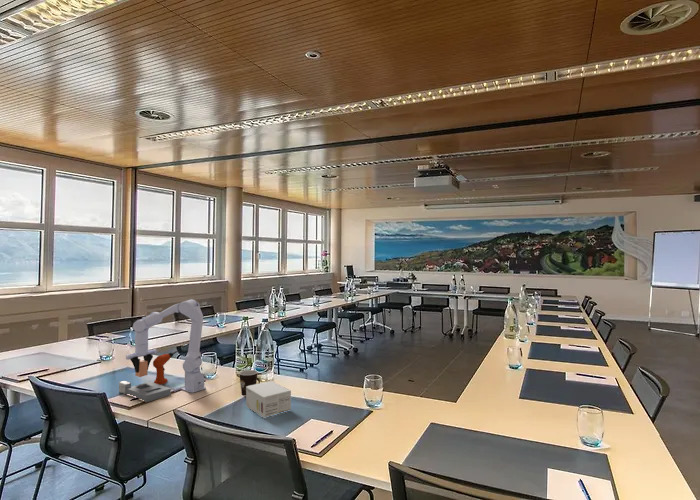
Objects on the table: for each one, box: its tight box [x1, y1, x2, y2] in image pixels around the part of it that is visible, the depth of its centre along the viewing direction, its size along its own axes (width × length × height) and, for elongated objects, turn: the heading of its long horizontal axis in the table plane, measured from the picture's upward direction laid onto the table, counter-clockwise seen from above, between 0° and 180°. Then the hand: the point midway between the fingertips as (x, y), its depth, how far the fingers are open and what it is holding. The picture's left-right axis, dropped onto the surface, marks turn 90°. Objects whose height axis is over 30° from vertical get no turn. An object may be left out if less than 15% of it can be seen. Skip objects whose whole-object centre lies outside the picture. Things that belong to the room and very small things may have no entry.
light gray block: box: [118, 380, 132, 395], centre depth 199 cm, size 6×3×5 cm, turn 55°
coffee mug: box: [238, 369, 261, 396], centre depth 197 cm, size 12×9×10 cm
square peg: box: [134, 359, 149, 378], centre depth 205 cm, size 4×4×7 cm
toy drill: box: [152, 350, 179, 386], centre depth 218 cm, size 5×19×15 cm, turn 166°
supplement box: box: [245, 380, 292, 418], centre depth 178 cm, size 17×13×9 cm
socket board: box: [126, 381, 172, 403], centre depth 196 cm, size 18×12×3 cm, turn 55°
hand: (141, 370), depth 205 cm, fingers closed on square peg, 4 cm apart
